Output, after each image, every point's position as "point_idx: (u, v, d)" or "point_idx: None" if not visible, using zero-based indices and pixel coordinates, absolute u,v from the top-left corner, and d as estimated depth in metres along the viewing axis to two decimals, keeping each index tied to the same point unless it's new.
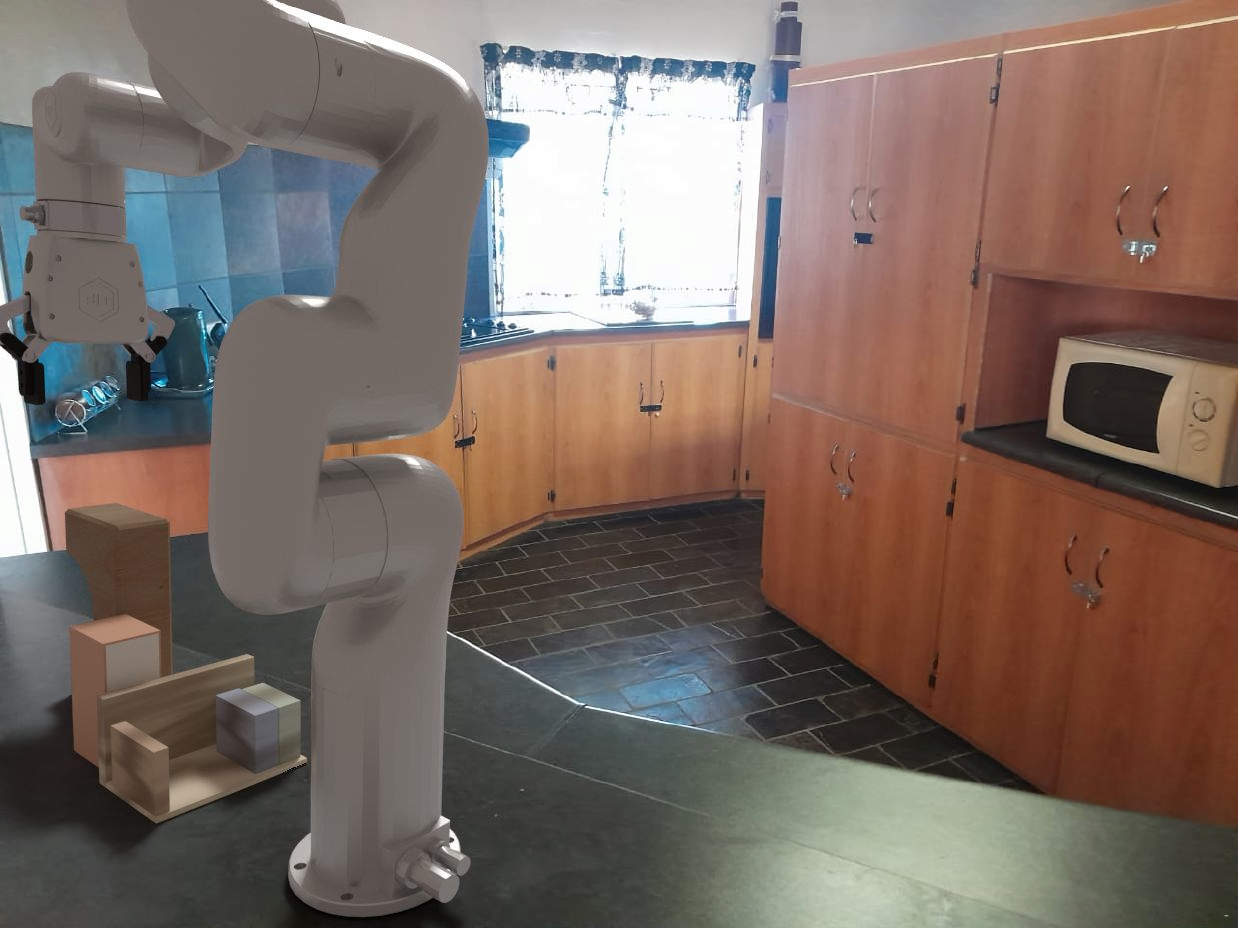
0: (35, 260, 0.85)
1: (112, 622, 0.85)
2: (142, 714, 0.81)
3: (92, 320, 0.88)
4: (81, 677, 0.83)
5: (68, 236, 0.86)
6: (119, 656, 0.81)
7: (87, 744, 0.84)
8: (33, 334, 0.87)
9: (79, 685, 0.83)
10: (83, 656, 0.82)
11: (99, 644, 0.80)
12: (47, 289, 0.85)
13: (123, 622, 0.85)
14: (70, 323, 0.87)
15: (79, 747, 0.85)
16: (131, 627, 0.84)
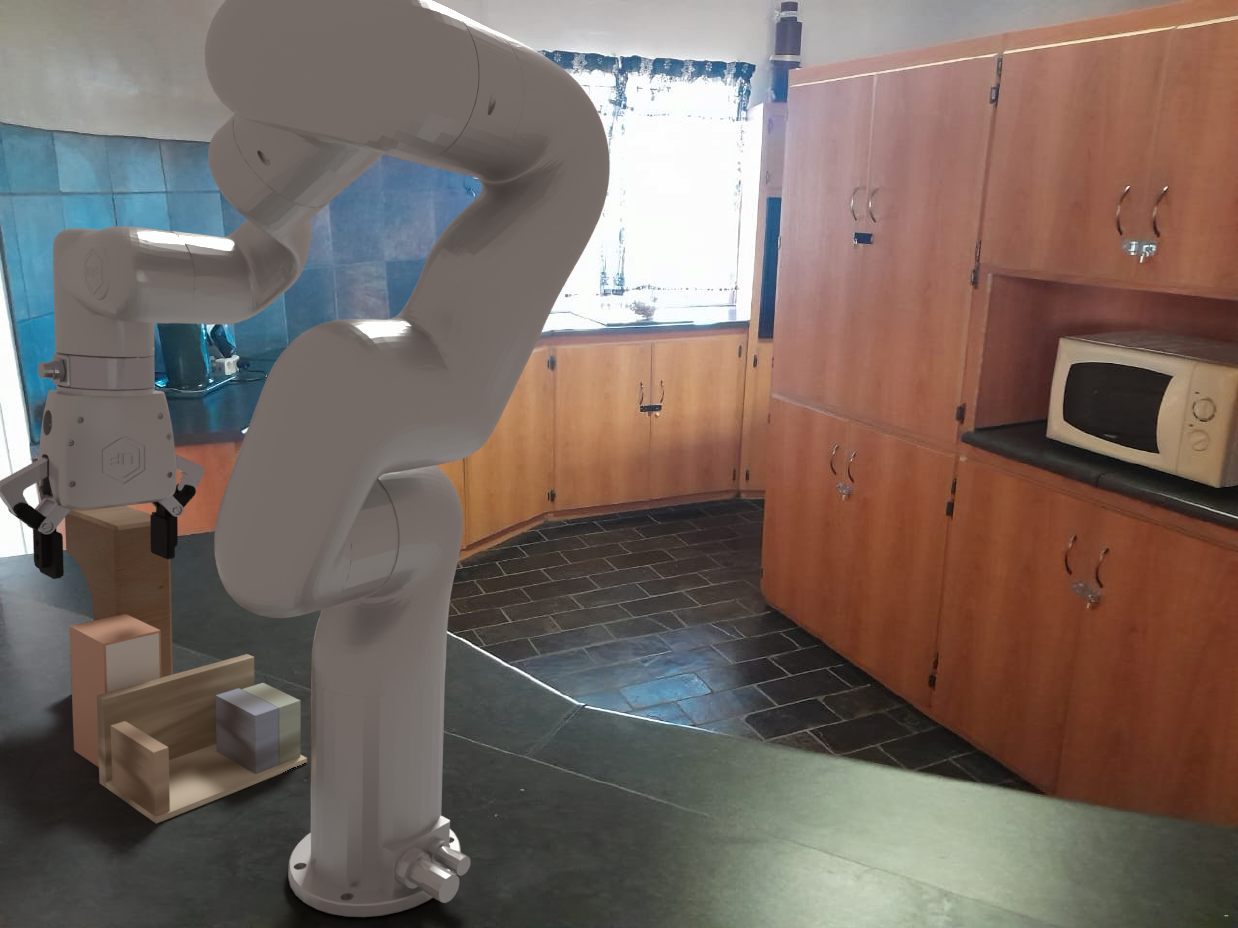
0: (54, 422, 0.76)
1: (112, 622, 0.85)
2: (142, 714, 0.81)
3: (116, 482, 0.80)
4: (81, 677, 0.83)
5: (91, 394, 0.77)
6: (119, 656, 0.81)
7: (87, 744, 0.84)
8: (51, 500, 0.78)
9: (79, 685, 0.84)
10: (84, 656, 0.82)
11: (99, 644, 0.80)
12: (67, 455, 0.76)
13: (123, 622, 0.85)
14: (92, 489, 0.78)
15: (79, 747, 0.85)
16: (131, 627, 0.84)
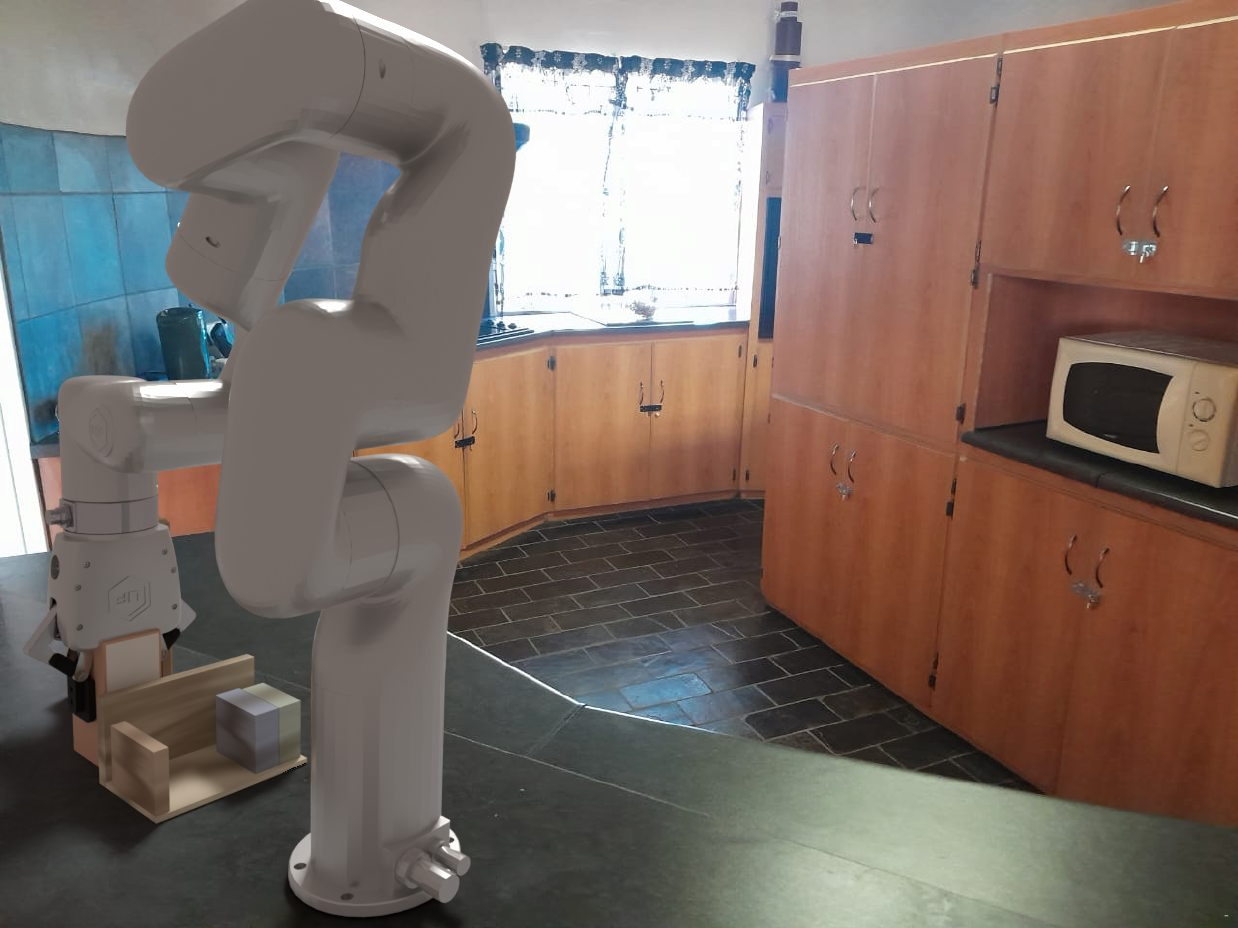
0: (62, 568, 0.78)
1: None
2: (142, 714, 0.81)
3: (123, 620, 0.81)
4: None
5: (97, 539, 0.79)
6: (119, 656, 0.81)
7: (87, 743, 0.84)
8: None
9: None
10: None
11: None
12: (75, 599, 0.78)
13: None
14: (99, 629, 0.80)
15: (79, 747, 0.85)
16: None
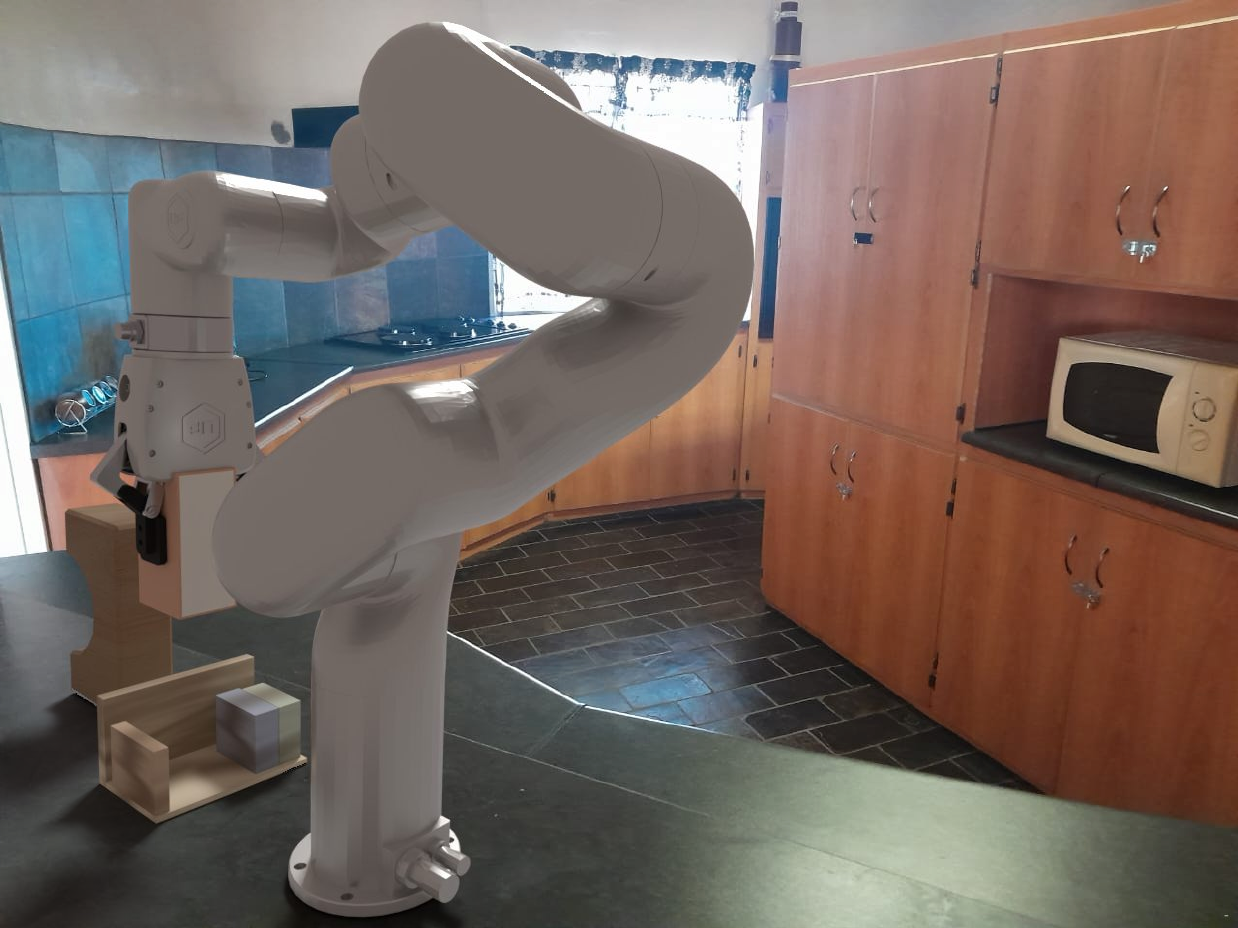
0: (133, 387, 0.71)
1: None
2: (142, 714, 0.81)
3: (197, 452, 0.74)
4: None
5: (171, 357, 0.72)
6: (193, 490, 0.74)
7: (155, 592, 0.76)
8: (142, 481, 0.74)
9: None
10: None
11: None
12: (147, 421, 0.71)
13: None
14: (172, 459, 0.73)
15: (145, 597, 0.78)
16: None
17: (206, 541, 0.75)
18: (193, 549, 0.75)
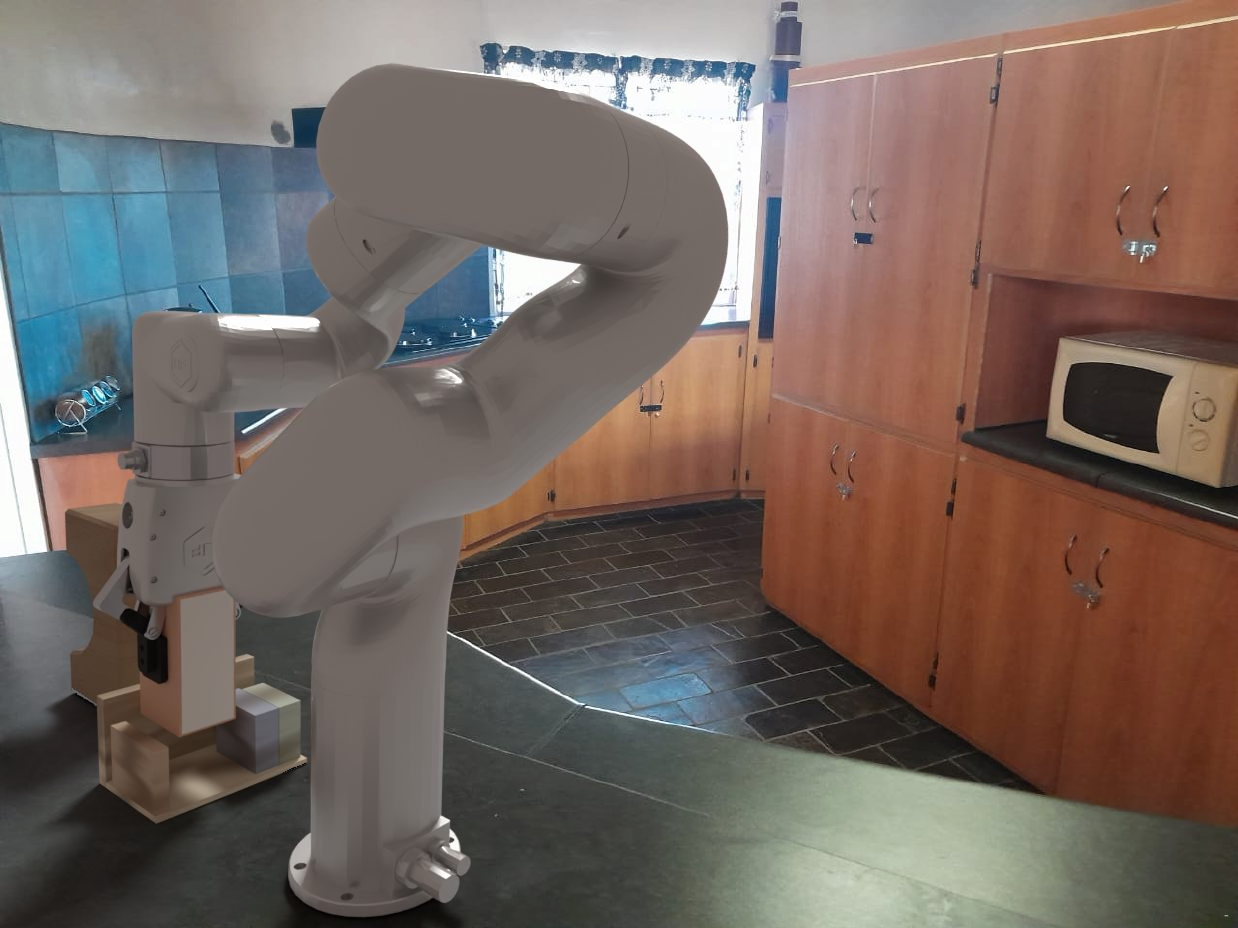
0: (136, 516, 0.73)
1: None
2: None
3: (198, 574, 0.76)
4: None
5: (173, 485, 0.73)
6: (193, 612, 0.76)
7: (156, 706, 0.78)
8: None
9: None
10: None
11: None
12: (149, 550, 0.73)
13: None
14: (174, 583, 0.74)
15: (146, 710, 0.79)
16: None
17: (206, 659, 0.77)
18: (194, 668, 0.76)
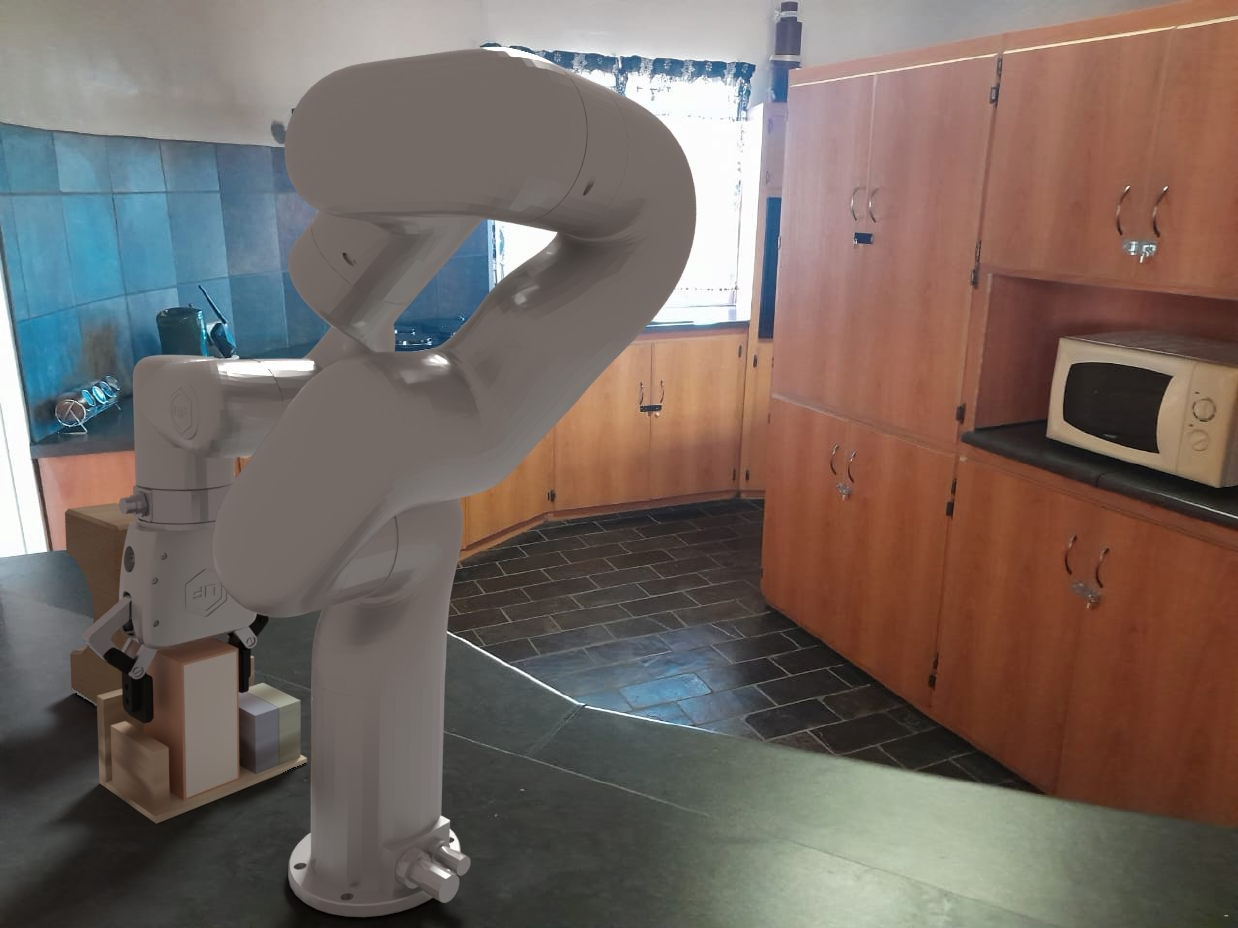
0: (137, 560, 0.73)
1: None
2: None
3: (199, 616, 0.76)
4: (154, 698, 0.78)
5: (175, 529, 0.74)
6: (197, 677, 0.76)
7: None
8: (136, 640, 0.75)
9: None
10: (158, 676, 0.78)
11: (176, 664, 0.76)
12: (151, 593, 0.73)
13: None
14: (175, 626, 0.75)
15: None
16: (207, 645, 0.79)
17: (209, 722, 0.78)
18: (197, 732, 0.77)
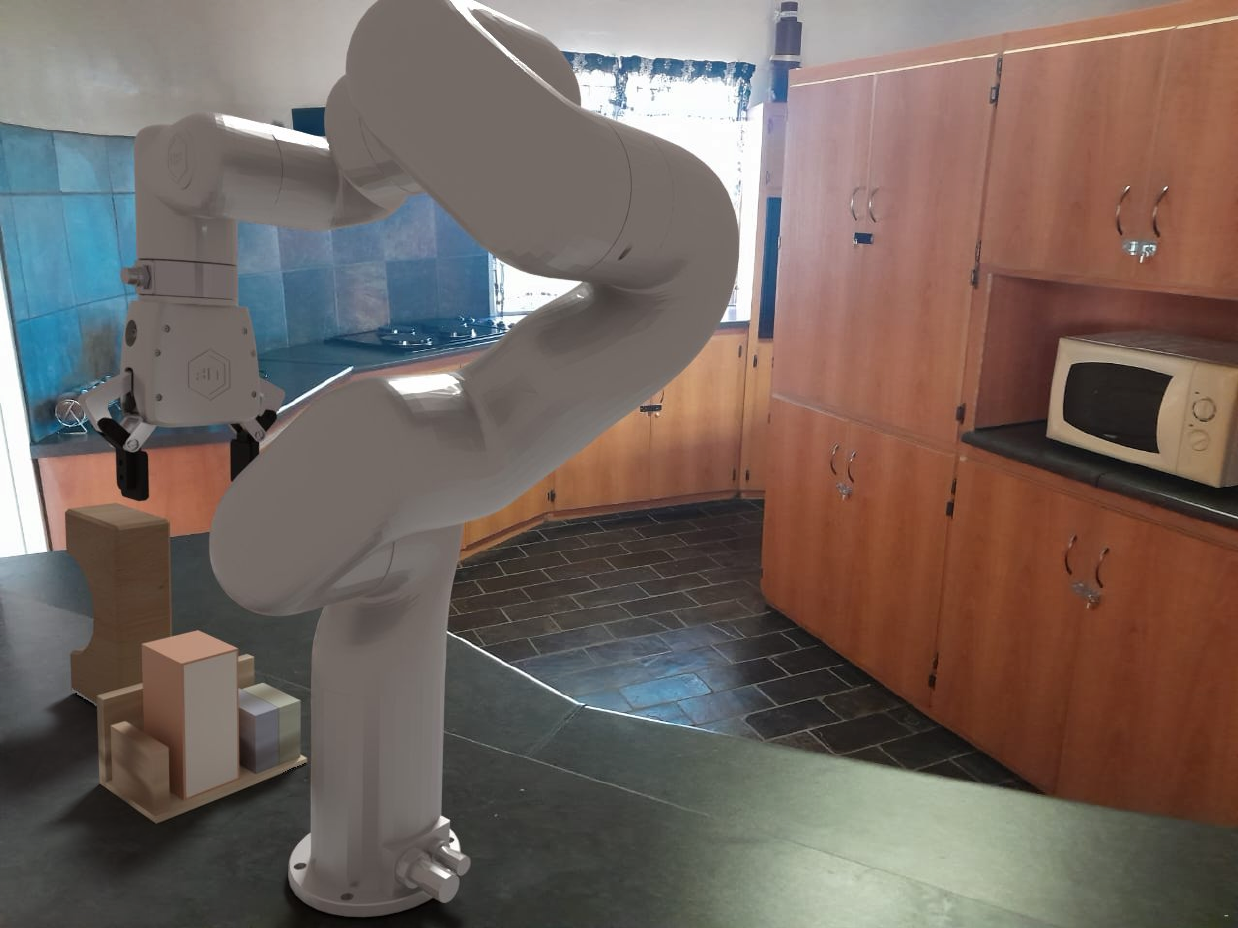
0: (140, 331, 0.71)
1: (186, 639, 0.80)
2: (142, 714, 0.81)
3: (203, 399, 0.75)
4: (154, 698, 0.78)
5: (178, 302, 0.72)
6: (197, 677, 0.76)
7: None
8: (134, 417, 0.73)
9: (152, 706, 0.79)
10: (158, 676, 0.78)
11: (176, 664, 0.76)
12: (154, 366, 0.72)
13: (197, 640, 0.80)
14: (179, 404, 0.73)
15: None
16: (207, 645, 0.79)
17: (209, 722, 0.78)
18: (197, 732, 0.77)
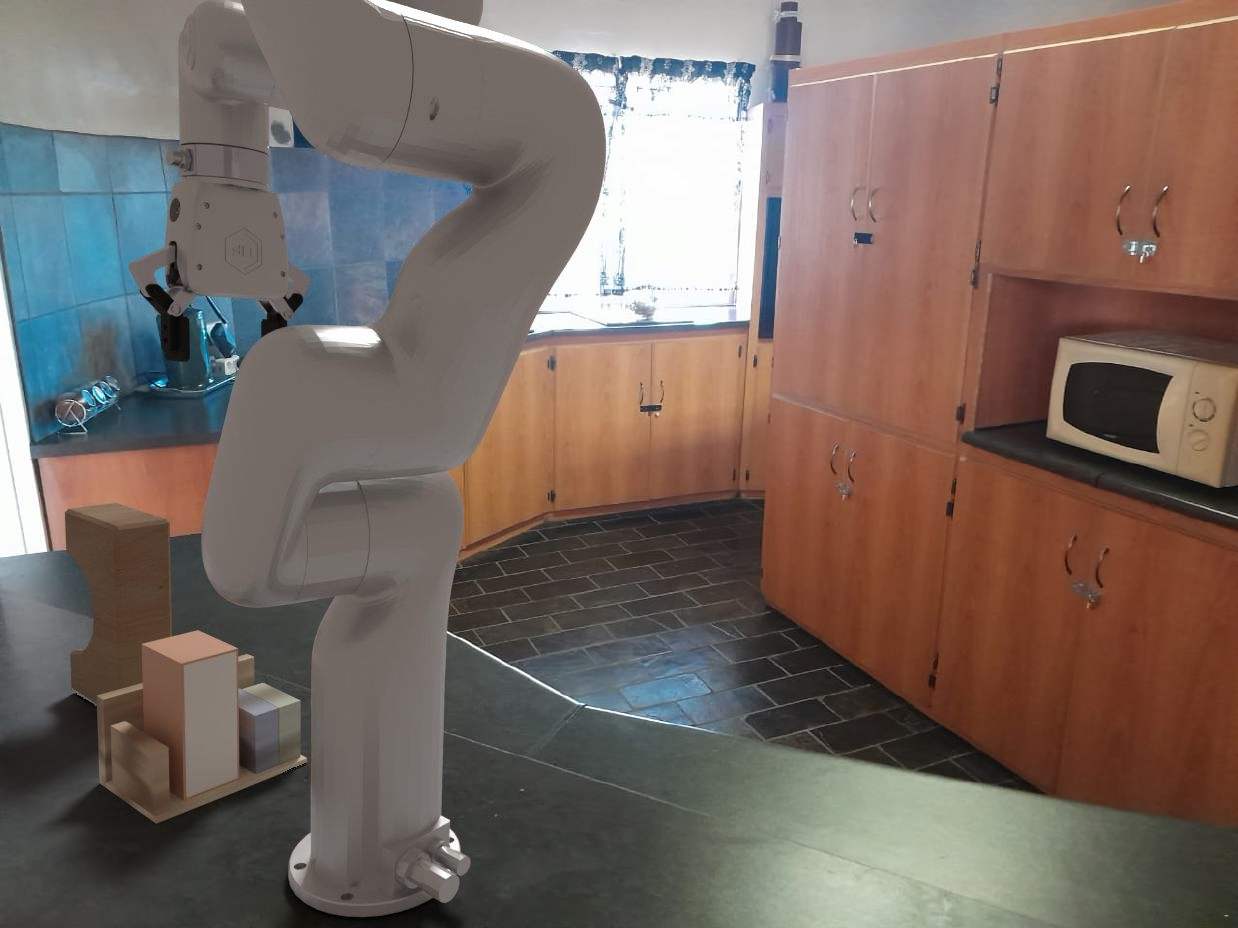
0: (183, 207, 0.80)
1: (186, 639, 0.80)
2: (142, 714, 0.81)
3: (237, 273, 0.83)
4: (154, 698, 0.78)
5: (216, 182, 0.81)
6: (197, 677, 0.76)
7: None
8: (177, 287, 0.82)
9: (152, 706, 0.79)
10: (158, 676, 0.78)
11: (176, 664, 0.76)
12: (195, 238, 0.80)
13: (197, 640, 0.80)
14: (216, 275, 0.82)
15: None
16: (207, 645, 0.79)
17: (209, 722, 0.78)
18: (197, 732, 0.77)
